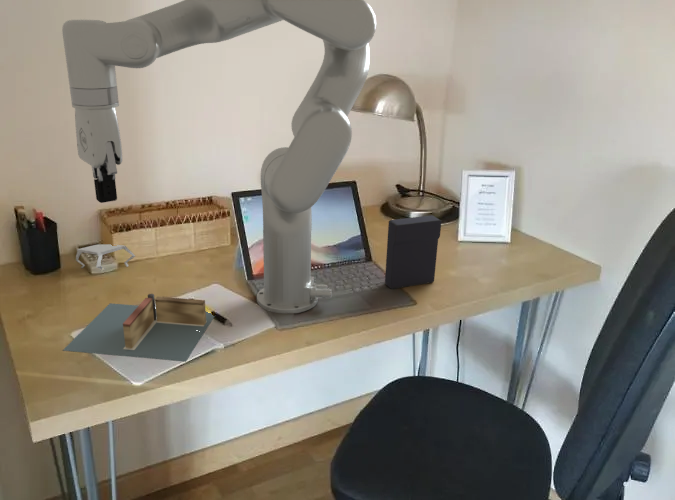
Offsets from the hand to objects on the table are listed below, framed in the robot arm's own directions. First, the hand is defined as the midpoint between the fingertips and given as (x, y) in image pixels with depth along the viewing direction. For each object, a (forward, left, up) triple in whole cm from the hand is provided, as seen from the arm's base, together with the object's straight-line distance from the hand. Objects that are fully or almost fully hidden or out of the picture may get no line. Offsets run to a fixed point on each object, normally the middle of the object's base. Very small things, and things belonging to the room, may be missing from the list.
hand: (107, 200), depth 112 cm
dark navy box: (-56, -24, -23) cm, 65 cm away
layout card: (-8, +6, -23) cm, 25 cm away
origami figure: (+12, -20, -24) cm, 33 cm away
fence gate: (-8, +8, -22) cm, 25 cm away
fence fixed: (-12, +2, -23) cm, 26 cm away
